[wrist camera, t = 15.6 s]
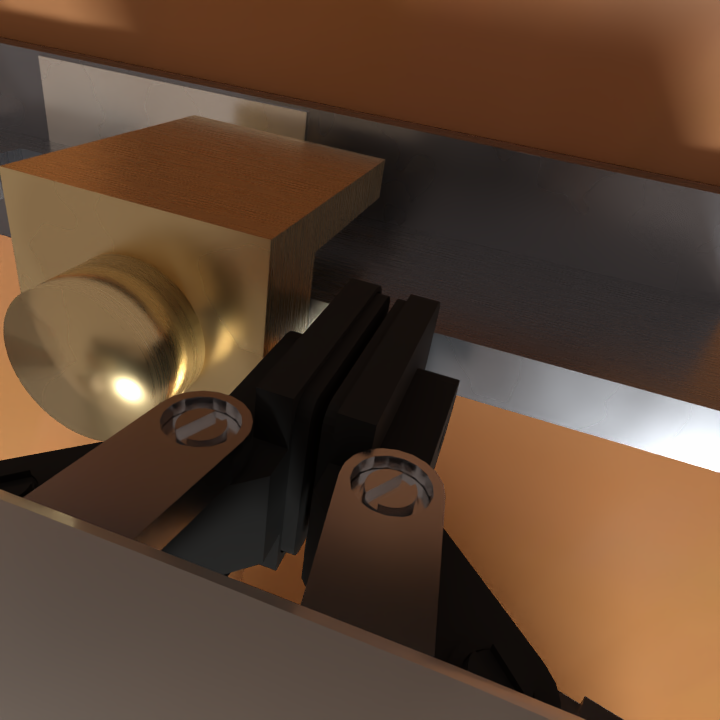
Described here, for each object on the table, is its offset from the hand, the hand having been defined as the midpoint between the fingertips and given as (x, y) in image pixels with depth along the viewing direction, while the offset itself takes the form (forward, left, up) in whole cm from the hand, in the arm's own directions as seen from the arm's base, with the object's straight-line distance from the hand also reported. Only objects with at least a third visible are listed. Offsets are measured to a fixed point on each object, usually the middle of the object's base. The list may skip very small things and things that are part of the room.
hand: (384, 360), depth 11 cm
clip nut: (0, +4, -4) cm, 6 cm away
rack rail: (0, +4, -6) cm, 8 cm away
